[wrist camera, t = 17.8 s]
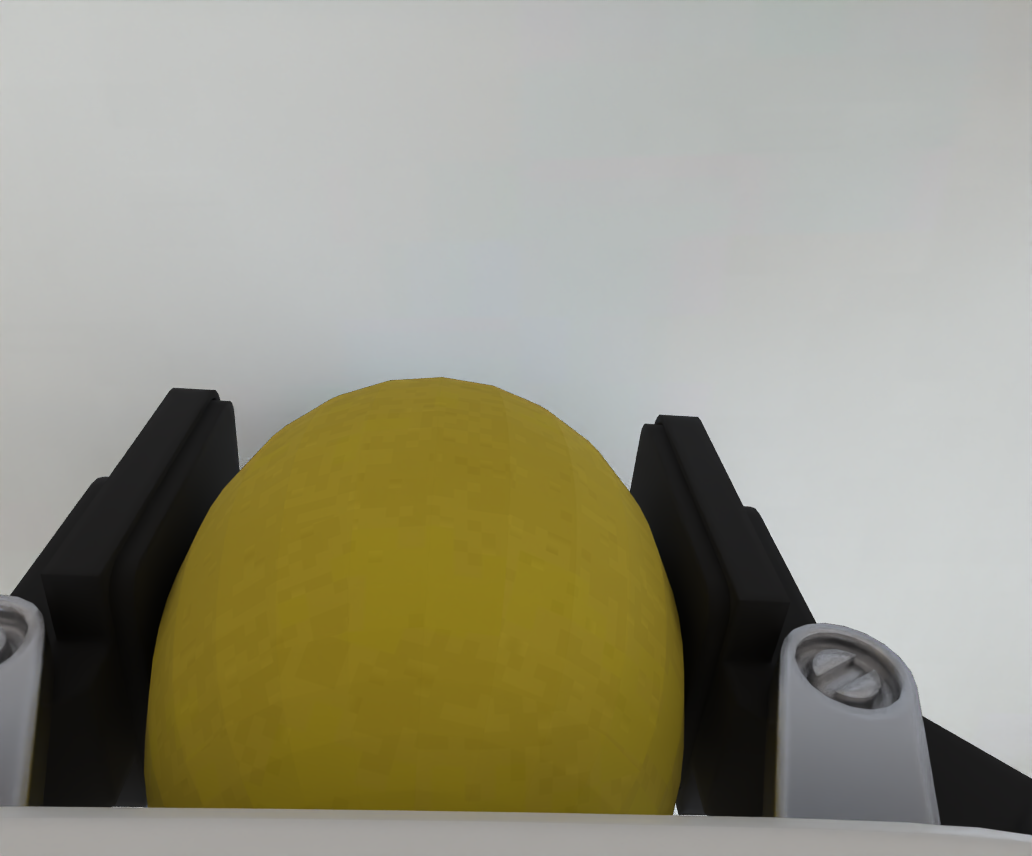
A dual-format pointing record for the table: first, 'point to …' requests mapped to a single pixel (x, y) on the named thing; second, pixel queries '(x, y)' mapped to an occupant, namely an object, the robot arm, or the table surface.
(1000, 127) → the table surface
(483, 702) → the lemon
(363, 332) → the table surface
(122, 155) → the table surface
